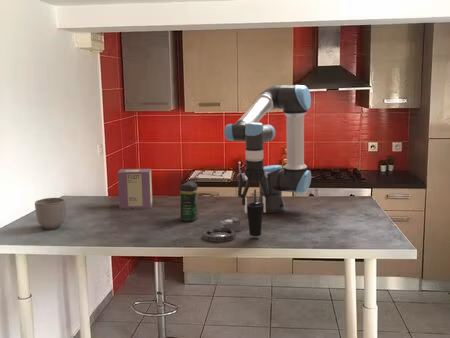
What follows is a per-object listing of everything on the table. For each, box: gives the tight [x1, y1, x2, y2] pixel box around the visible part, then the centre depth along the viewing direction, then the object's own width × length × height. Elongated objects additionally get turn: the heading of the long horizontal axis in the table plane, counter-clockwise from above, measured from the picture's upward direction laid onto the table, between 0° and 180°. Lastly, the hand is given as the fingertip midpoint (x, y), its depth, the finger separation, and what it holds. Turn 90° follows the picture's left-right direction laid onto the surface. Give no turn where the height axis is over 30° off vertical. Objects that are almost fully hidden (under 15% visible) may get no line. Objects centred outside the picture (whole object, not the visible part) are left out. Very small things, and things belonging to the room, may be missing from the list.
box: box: [117, 168, 153, 210], centre depth 284 cm, size 17×9×20 cm, turn 92°
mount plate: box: [202, 227, 237, 243], centre depth 230 cm, size 14×14×2 cm
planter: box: [34, 197, 67, 231], centre depth 247 cm, size 14×14×13 cm
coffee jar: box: [179, 181, 199, 222], centre depth 258 cm, size 10×8×19 cm
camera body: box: [219, 216, 242, 232], centre depth 241 cm, size 8×6×5 cm
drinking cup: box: [247, 189, 264, 237], centre depth 226 cm, size 8×8×20 cm
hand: (254, 211), depth 226 cm, fingers closed on drinking cup, 7 cm apart
